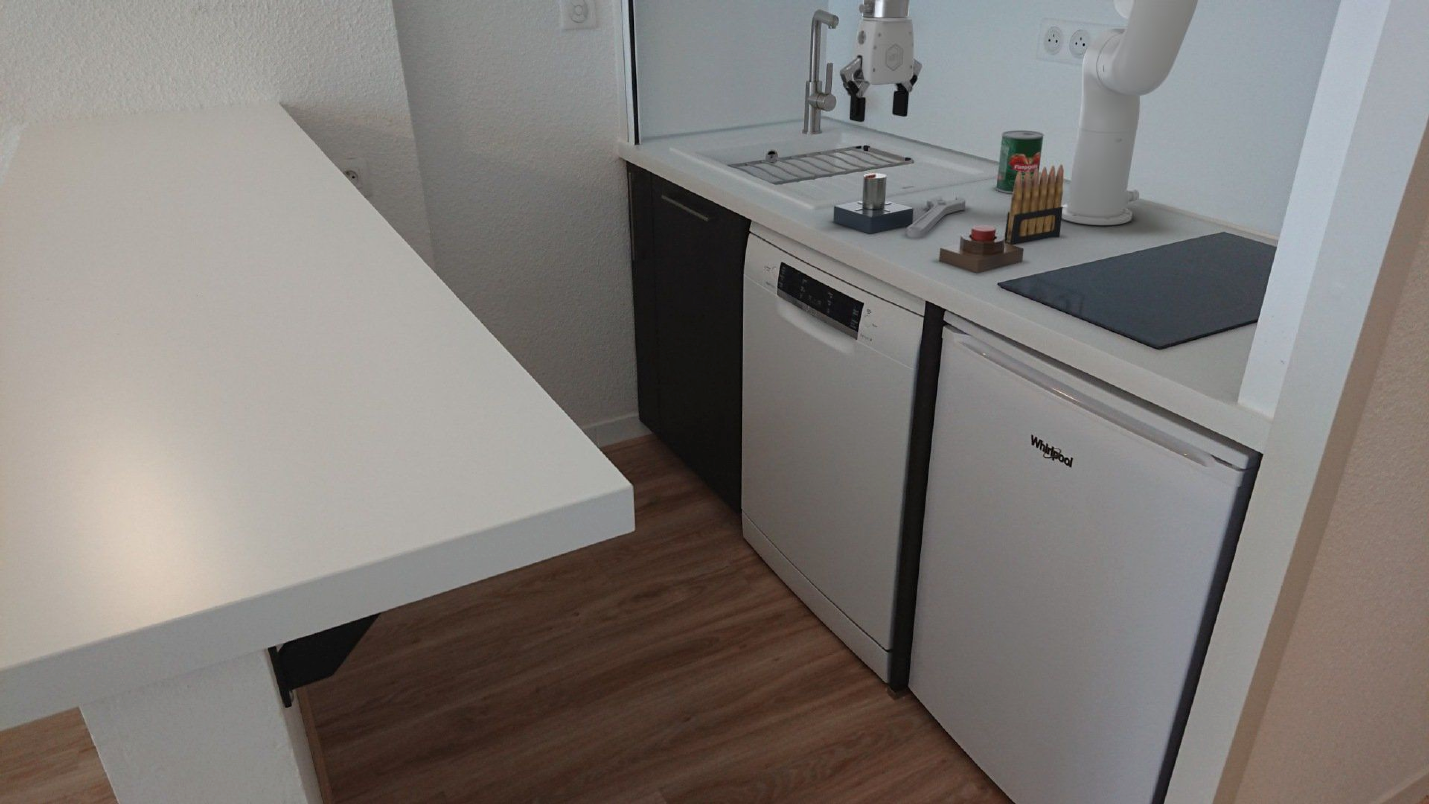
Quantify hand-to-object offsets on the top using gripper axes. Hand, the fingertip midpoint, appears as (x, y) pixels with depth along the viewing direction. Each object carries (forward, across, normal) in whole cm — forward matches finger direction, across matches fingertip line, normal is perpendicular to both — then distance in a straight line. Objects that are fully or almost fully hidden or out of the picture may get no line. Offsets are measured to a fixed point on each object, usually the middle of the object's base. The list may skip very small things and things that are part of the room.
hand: (878, 118), depth 163 cm
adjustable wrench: (+18, +10, -5) cm, 21 cm away
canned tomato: (+18, +40, +2) cm, 44 cm away
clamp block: (+18, 0, 0) cm, 18 cm away
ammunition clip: (+18, +14, -24) cm, 33 cm away
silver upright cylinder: (+15, 0, 0) cm, 15 cm away
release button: (+14, -2, -28) cm, 31 cm away
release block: (+18, -2, -28) cm, 33 cm away
